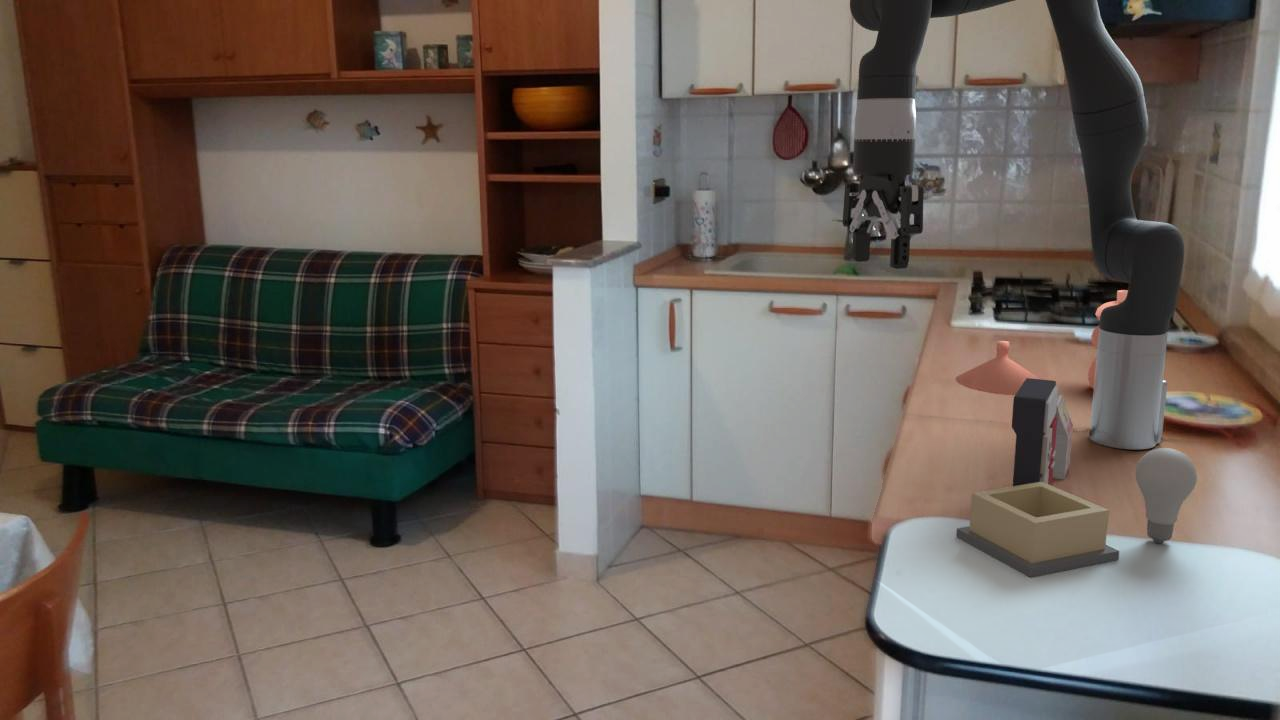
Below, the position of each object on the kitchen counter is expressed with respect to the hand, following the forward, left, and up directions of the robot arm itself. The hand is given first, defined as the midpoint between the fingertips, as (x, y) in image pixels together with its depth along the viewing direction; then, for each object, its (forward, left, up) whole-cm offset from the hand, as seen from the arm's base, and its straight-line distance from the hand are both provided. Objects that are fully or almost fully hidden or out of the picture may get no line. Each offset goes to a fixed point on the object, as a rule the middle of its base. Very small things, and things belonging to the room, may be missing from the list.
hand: (879, 264), depth 132 cm
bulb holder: (-3, +28, -29) cm, 40 cm away
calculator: (-12, +17, -29) cm, 36 cm away
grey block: (-24, +7, -29) cm, 39 cm away
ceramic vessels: (-54, -27, -29) cm, 67 cm away
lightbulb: (-17, +32, -29) cm, 46 cm away
